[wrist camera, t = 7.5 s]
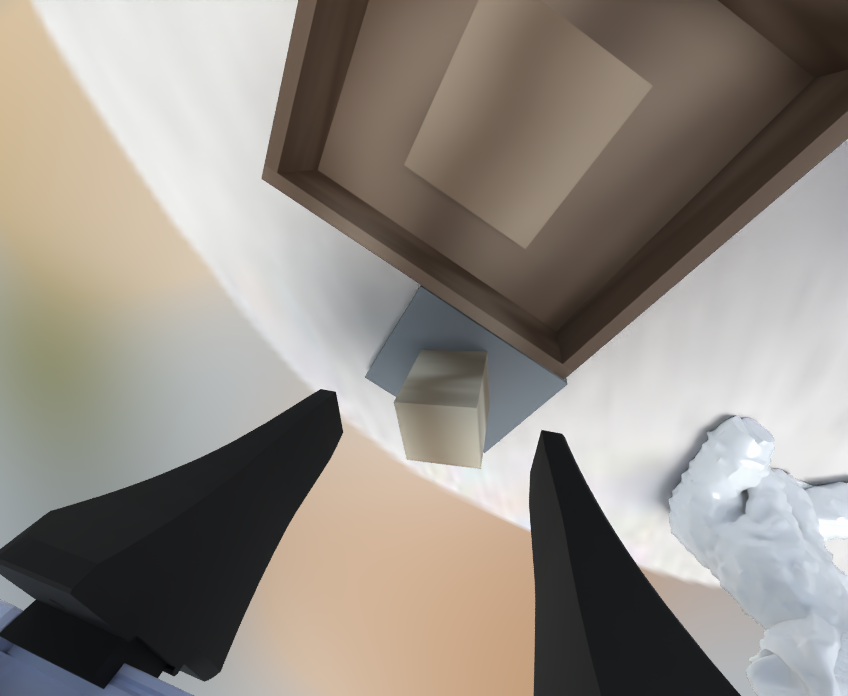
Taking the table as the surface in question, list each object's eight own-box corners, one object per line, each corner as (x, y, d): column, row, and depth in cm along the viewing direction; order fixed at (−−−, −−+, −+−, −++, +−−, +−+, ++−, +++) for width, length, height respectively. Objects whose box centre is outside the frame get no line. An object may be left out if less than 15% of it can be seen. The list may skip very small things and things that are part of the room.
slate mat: (565, 374, 19) (567, 384, 18) (485, 442, 24) (484, 452, 23) (425, 280, 18) (420, 286, 18) (370, 369, 23) (364, 377, 22)
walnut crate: (831, 72, 11) (966, 37, 8) (556, 338, 18) (563, 379, 15) (436, -245, 10) (391, -449, 6) (312, 173, 17) (261, 178, 14)
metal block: (487, 351, 19) (476, 407, 14) (489, 405, 20) (480, 468, 16) (421, 349, 20) (393, 402, 16) (429, 401, 22) (406, 459, 17)
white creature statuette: (879, 489, 18) (1327, 912, 8) (730, 545, 23) (891, 852, 13) (735, 406, 18) (1012, 735, 8) (615, 481, 22) (689, 742, 12)
